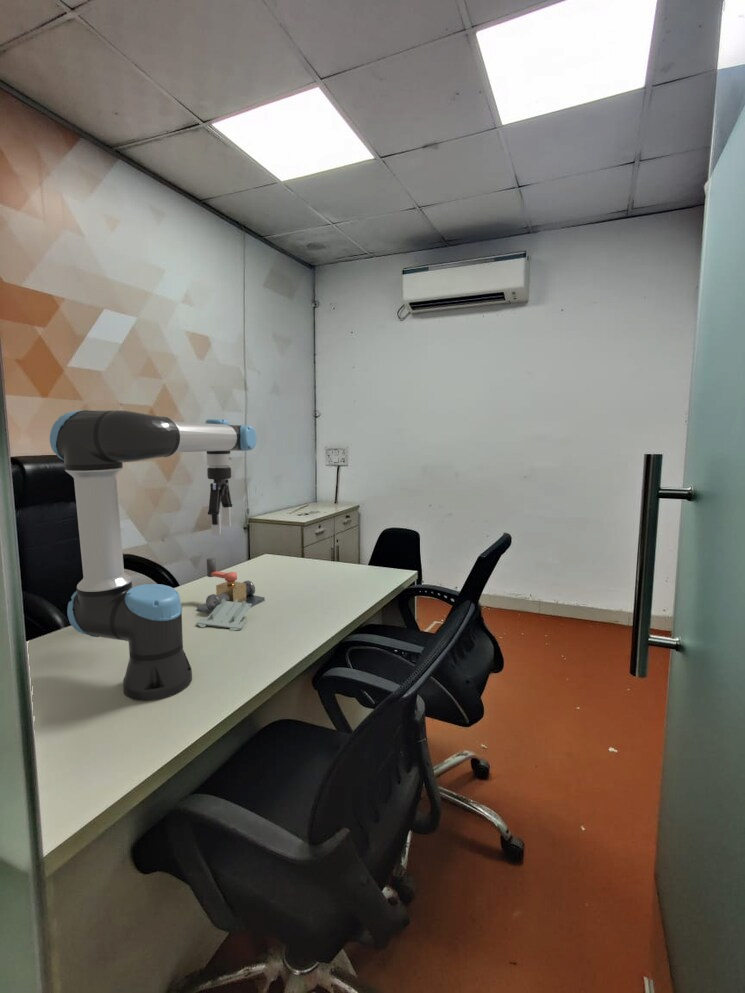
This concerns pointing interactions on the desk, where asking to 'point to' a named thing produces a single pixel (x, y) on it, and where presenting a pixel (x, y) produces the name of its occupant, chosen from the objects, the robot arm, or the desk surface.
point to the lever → (213, 573)
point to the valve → (231, 595)
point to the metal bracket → (226, 615)
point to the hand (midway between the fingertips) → (221, 530)
